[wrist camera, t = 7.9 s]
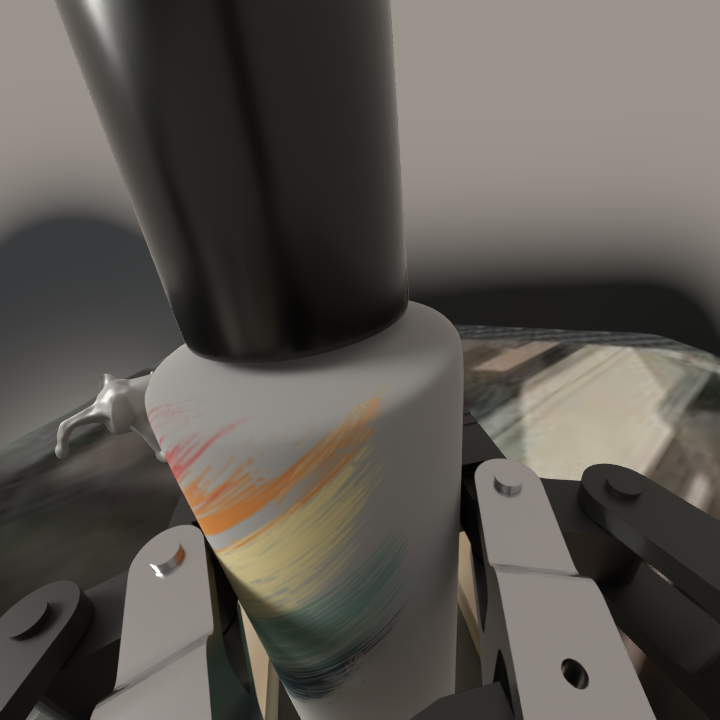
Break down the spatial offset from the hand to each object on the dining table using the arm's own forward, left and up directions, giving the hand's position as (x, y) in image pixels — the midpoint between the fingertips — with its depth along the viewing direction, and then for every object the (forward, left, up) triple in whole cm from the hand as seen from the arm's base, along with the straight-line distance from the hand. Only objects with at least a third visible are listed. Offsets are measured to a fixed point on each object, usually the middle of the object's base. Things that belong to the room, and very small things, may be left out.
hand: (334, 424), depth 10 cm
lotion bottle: (0, -3, -11) cm, 12 cm away
